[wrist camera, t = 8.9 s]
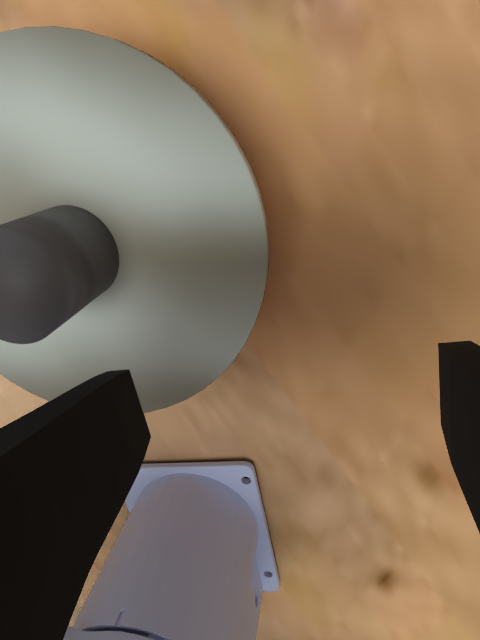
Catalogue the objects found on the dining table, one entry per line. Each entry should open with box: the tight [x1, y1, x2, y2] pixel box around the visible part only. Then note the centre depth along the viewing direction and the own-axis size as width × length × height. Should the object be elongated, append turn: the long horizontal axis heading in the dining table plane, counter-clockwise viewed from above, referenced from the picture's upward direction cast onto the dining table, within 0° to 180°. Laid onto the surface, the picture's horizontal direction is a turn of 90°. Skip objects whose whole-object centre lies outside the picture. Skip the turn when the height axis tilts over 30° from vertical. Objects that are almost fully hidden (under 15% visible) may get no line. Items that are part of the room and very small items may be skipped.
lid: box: [0, 26, 269, 413], centre depth 14 cm, size 13×13×4 cm
